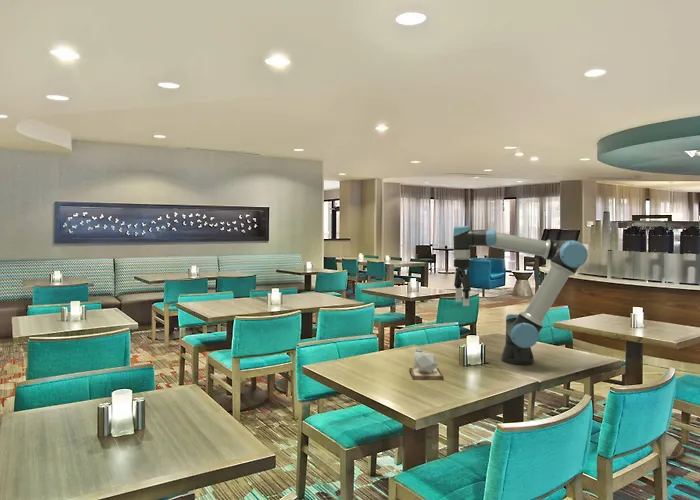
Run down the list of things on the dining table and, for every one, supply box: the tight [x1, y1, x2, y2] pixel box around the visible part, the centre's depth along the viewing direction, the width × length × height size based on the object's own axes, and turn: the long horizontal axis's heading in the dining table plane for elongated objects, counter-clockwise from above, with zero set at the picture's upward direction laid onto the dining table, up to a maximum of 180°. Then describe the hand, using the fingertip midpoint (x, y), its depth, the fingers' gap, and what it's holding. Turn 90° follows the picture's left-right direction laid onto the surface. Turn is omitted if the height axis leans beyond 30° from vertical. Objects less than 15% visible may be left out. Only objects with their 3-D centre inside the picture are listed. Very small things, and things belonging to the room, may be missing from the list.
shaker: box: [414, 348, 424, 368], centre depth 236 cm, size 4×4×8 cm
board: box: [408, 367, 444, 381], centre depth 222 cm, size 13×13×2 cm
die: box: [416, 352, 438, 374], centre depth 221 cm, size 8×9×10 cm
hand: (462, 303), depth 238 cm, fingers open, 13 cm apart
